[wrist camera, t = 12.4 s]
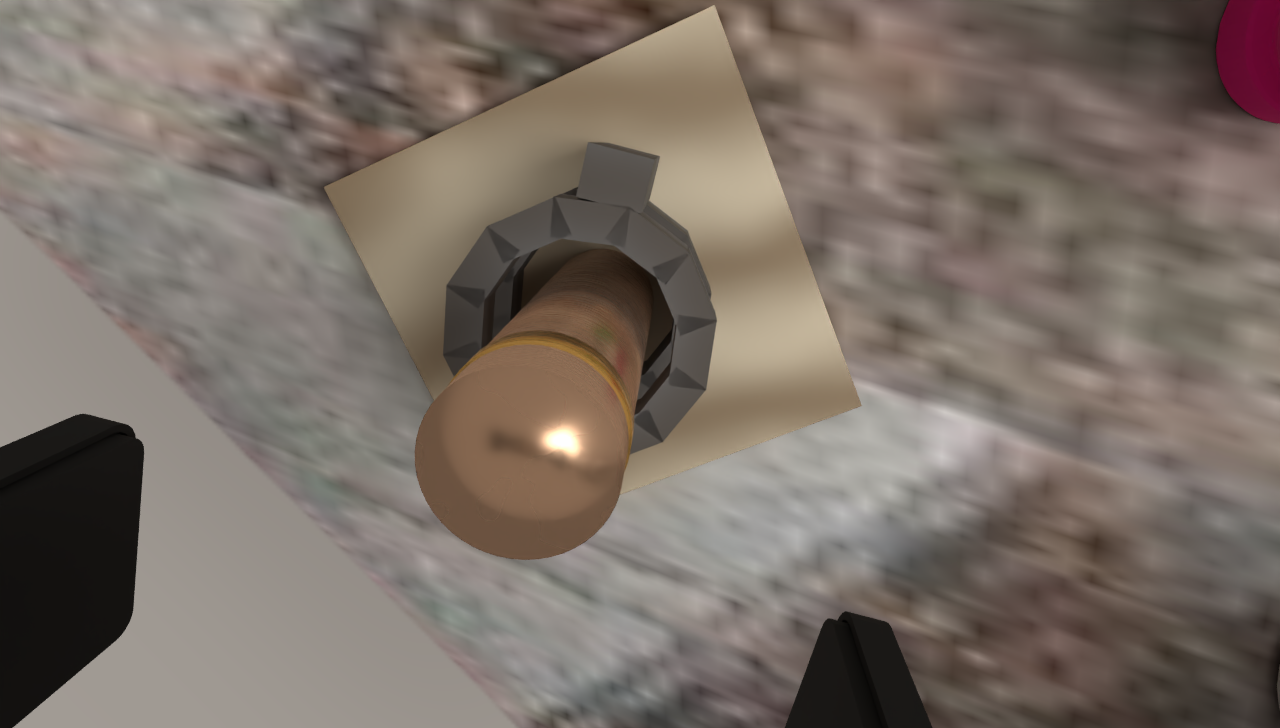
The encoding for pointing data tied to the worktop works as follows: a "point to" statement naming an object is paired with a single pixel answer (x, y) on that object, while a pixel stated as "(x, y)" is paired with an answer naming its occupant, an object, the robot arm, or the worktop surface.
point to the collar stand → (616, 242)
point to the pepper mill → (1251, 56)
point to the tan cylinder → (542, 415)
